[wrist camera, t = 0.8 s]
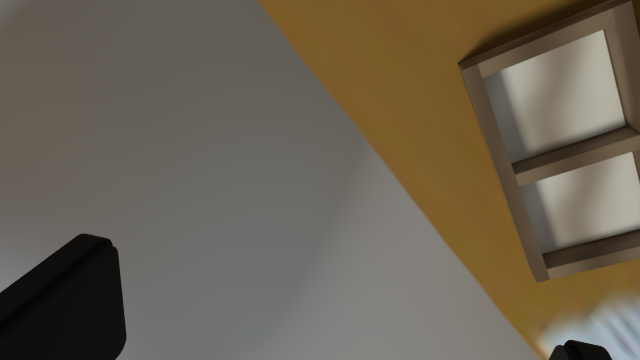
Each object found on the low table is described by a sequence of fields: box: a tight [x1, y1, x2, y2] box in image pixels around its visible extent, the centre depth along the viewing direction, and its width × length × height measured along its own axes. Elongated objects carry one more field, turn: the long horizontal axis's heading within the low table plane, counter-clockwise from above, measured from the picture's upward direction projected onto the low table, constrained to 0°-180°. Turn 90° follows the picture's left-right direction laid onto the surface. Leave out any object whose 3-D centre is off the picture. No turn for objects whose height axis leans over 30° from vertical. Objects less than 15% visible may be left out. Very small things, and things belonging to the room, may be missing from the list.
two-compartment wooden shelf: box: [458, 0, 640, 282], centre depth 31 cm, size 10×18×3 cm, turn 25°
